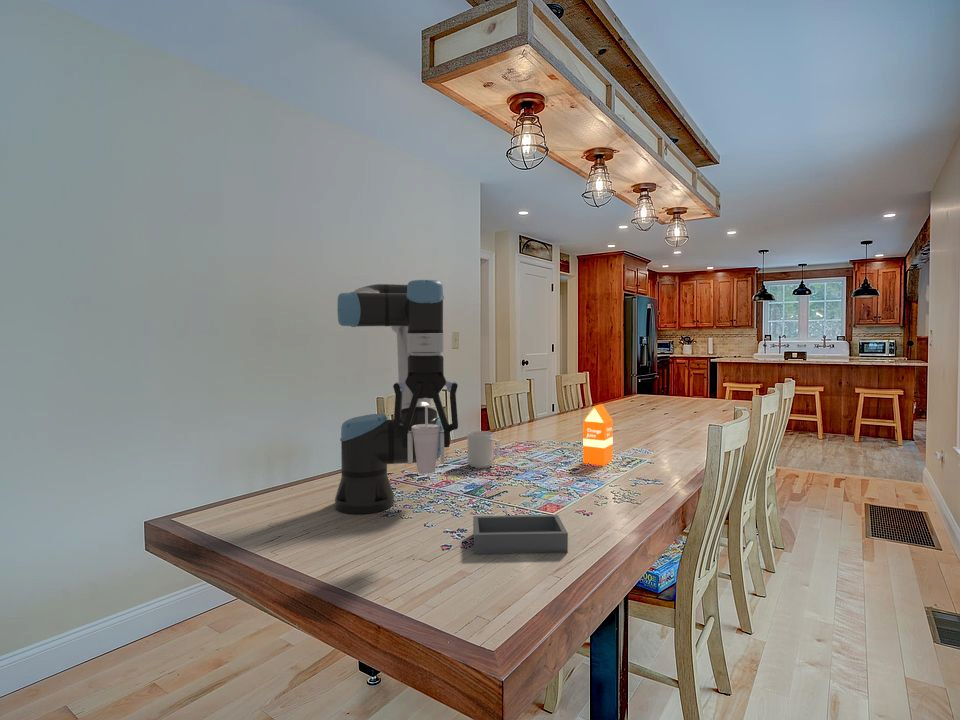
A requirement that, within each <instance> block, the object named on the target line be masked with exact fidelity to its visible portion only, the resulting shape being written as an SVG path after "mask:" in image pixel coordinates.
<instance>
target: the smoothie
mask: <svg viewBox="0 0 960 720" xmlns="http://www.w3.org/2000/svg"><path fill="white" fill-rule="evenodd" d="M440 431H441V426H440V425H436V424H428V406H425V424H418V425H414V426H412V427H411V432H413V439H414V447H415V454H416V462H417V463H416V467H417V473H419V474H425V475H428V474H434V473H435V472H436V468H437V451H438V442H439V433H440Z"/></svg>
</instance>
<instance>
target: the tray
mask: <svg viewBox="0 0 960 720" xmlns="http://www.w3.org/2000/svg"><path fill="white" fill-rule="evenodd" d="M472 517H473V521H472V523H473V528H472V531H473V549H474V551H473V552H474V555H496V554H498V555H499V554H501V555H502V554H505V555H507V554H509V555H510V554H511V555H512V554H553V553H554V554H557V553H558V554H559V553H563V554H564V553H565V552H566V554H567V553H568V549H569V548H568V546H569V545H568V543H569V542H568V541H569V535H568V533H569V532H568V531H567V529H566V528H565V526H564V524H563V522H562V520H561V518H560V516H559V515H558V514H539V515H538V514H536V515H535V514H534V515H531V514H530V515H528V514H527V515H525V514H524V515H522V514H521V515H473V516H472Z"/></svg>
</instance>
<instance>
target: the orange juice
mask: <svg viewBox="0 0 960 720" xmlns="http://www.w3.org/2000/svg"><path fill="white" fill-rule="evenodd" d="M613 421H614V420H613V418H612V417H611V416H610V414H609V413H608V411H607V409H606V407H605V406H604V404H603V403H600V404H597V405H594V406H593V407H592V409H591V410H590V411H589V413H588V414H587V416H586V417H585V418H584V420H583V421H582V423H583V424H582V426H583V428H582V429H583V431H582V432H583V435H582V436H583V437H582V442H583V444H582V445H583V446H582V447H583V448H582V450H583V452H582V454H583V456H582V460H583V461H582V462H583V464H588V463H589V464H588V465H595V464H596V466H597V465H598V466H603V467H604V466H606V465H607V464H609V463H611V462H613V440H614V439H613V437H614V435H613V432H614V431H613V429H614V428H613V426H614V425H613V424H614V423H613Z"/></svg>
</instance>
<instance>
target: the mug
mask: <svg viewBox="0 0 960 720" xmlns="http://www.w3.org/2000/svg"><path fill="white" fill-rule="evenodd" d="M466 434H467V435H466V436H467V439H466V440H467V442H466V443H467V453H466V454H467V465H468V466H469V467H470V466H471V467H470V468H472V467H475V468H474V469H478V468H482V469H486V468H485V467H489V468H491V467H492V466H493V465H494V463H495V460H497V459H498V458H499V456H500V447H501V446H500V443H501V440H499V439H497V438H494V432H492V431H488V430H487V431H486V430H476V431H469V432H468V433H466ZM494 442H495V443H496V445H495V446H496V449H495V448H494V444H495V443H494ZM494 449H495V453H494ZM494 454H495V457H494ZM490 466H491V467H490Z"/></svg>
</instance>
